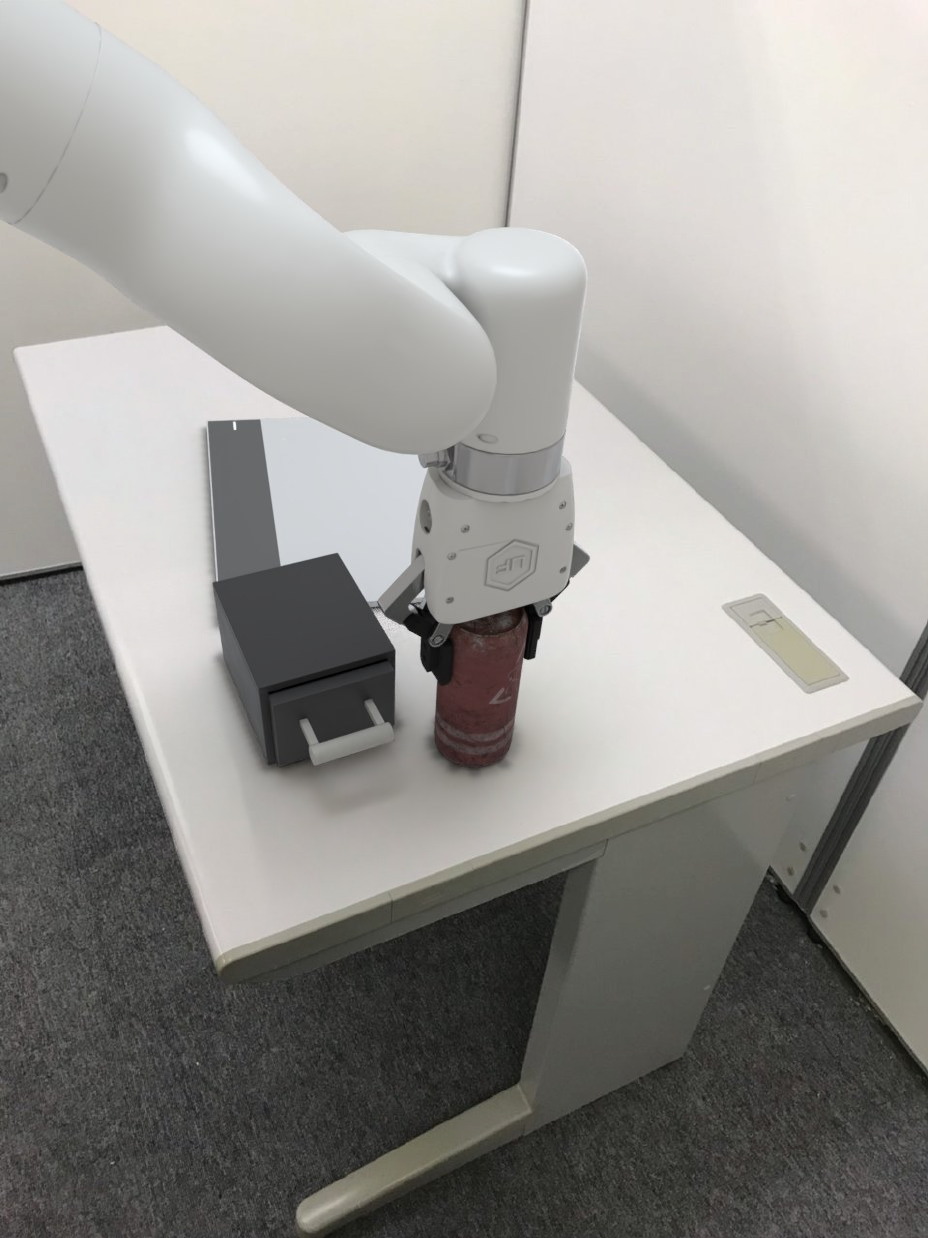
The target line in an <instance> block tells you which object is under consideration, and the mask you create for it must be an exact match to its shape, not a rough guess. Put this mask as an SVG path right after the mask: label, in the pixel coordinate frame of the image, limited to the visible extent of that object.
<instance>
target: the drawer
mask: <svg viewBox="0 0 928 1238" xmlns="http://www.w3.org/2000/svg"><path fill="white" fill-rule="evenodd" d="M268 701H269V710H270V719H271V727H272V736H273V745H274V754H275V758H276V760H277V762H276V763H277V764H278V765H277V766H278V767H283V766H287V765H290V764H292V763H296V762H299V761H302V760H305V759H308V758H310V760H311V762H312V764H313V765H314V766H319V765H322V764H325V763H328V762H331V761H335V760H338V759H341V758H343V757H347V756H350V755H353V754H356V753H359V752H363V751H366V750H369V749H372V748H375V747H378V746H381V745H384V744H388V743H391V742H394V741H395V731H394V726H395V723H394V669H393V668H392V666H391V664H390V662H389V661H384V662H381V663H377V664H375V662H373V663H369V664H366V665H362V666H359V667H355V668H352V669H348V670H345V671H341V672H338V673H334V674H331V675H327V676H324V677H320V678H317V679H313V680H310V681H306V682H303V683H299V684H296V685H292V686H289V687H285V688H282V689H278V690H275V691H271V692H269V695H268Z"/></svg>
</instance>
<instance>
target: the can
mask: <svg viewBox="0 0 928 1238" xmlns="http://www.w3.org/2000/svg"><path fill="white" fill-rule="evenodd" d="M527 629H528V618H527V613H526V612H525V610H524V606H521V607H518V608H514V609H511V610H507V611H504V612H500V613H497V614H493V615H489V616H485V617H482V618H478V619H474V620H470V621H466V622H462V623H457V624H454V626H453V628H452V630H451V631H450V633H449V635H448V638H449V639H450V641H451V642H452V644H453V658H452V671H451V682H449V684H448V685H445V686H440V684H439V683H438V681H437V680H436V690H435V691H436V693H435V707H434V708H435V710H434V726H433V727H434V728H433V736H434V737H433V738H434V742H435V744H436V747H437V749H438V751H440V752H441V753H442V755H444V756H445V758H447V759H448V760H449V761H451V762H453V763H455V764H456V765H458V766H462V767H466V768H483V767H487V766H491V765H492V764H494V763H495V762H497V761H499V760H500V759H502V758H503V757H504V756H505V755H506V754H507V753H508V752H509V750H510V748H511V744H512V741H513V736H514V728H515V721H516V714H517V707H518V700H519V693H520V685H521V680H522V679H521V677H522V671H523V664H524V650H525V643H526V636H527Z"/></svg>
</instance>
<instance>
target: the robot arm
mask: <svg viewBox="0 0 928 1238" xmlns="http://www.w3.org/2000/svg"><path fill="white" fill-rule="evenodd" d="M0 220H1V221H3V222H4V223H7V224H8V225H10V226H12V227H13V228H15V229H17V230H19V231H21V232H24V233H25V234H27V235H29V236H31V237H32V238H35V239H37V240H39V241H41V242H42V243H44V244H46V245H48V246H50V247H52V248H54V249H55V250H57V251H59V252H61V253H63V254H65V255H66V256H69V257H70V258H72V259H74V260H76V261H77V262H78V263H81V264H82V265H84V266H86V267H87V268H89V269H90V270H91V271H93V272H94V273H95V274H97V275H98V276H99V277H101V278H102V279H103V280H105V281H106V282H107V283H108V284H109V285H111V286H112V287H113V288H114V289H116V290H117V291H118V292H119V293H121V295H123V296H124V297H126V298H127V299H128V300H129V301H131V302H132V303H133V304H135V305H136V306H137V307H139V308H140V309H142V310H143V311H145V312H146V313H148V315H150V316H152V317H154V318H155V319H157V320H158V321H160V322H161V323H163V324H164V325H165V326H167V327H168V328H169V329H171V330H172V331H174V332H175V333H176V334H179V335H180V336H181V337H183V338H184V339H185V340H187V341H188V342H189V343H191V344H193V345H194V346H195V347H197V348H198V349H199V350H201V351H203V352H204V353H205V354H207V355H208V356H209V357H210V358H212V359H214V360H215V361H216V362H218V363H219V364H221V365H222V366H224V367H225V368H227V369H228V370H229V371H231V372H232V373H233V374H235V375H237V376H238V377H239V378H241V379H242V380H244V381H245V382H246V383H249V384H250V385H252V386H254V387H255V388H257V389H258V390H259V391H261V392H263V393H264V394H266V395H268V396H270V397H272V399H275V400H277V401H278V402H280V403H282V404H284V405H285V406H288V407H289V408H292V409H293V410H294V411H297V412H298V413H301V414H303V415H305V416H306V417H311V418H313V419H315V420H317V421H319V422H321V423H323V424H325V425H327V426H329V427H331V428H333V429H335V430H337V431H340V432H342V433H344V434H346V435H348V436H350V437H352V438H354V439H356V440H358V441H360V442H363V443H365V444H367V445H370V446H372V447H375V448H378V449H381V450H384V451H389V452H394V453H399V454H410V455H418V458H419V462H420V464H421V466H422V467H423V468H428V469H427V472H426V476H425V479H424V482H423V486H422V490H421V493H420V498H419V502H418V507H417V512H416V518H415V524H414V533H413V541H412V553H411V565H410V566H409V567H408V568H407V569H406V570H405V571H404V572H403V573H402V574H401V575H400V576H399V577H398V578H397V580H396V581H395V582H394V583H393V584H392V585H391V586H390V587H389V588H388V589H387V590H386V591H385V592H384V593H383V594H382V596H381V597H380V598H379V599H378V601H377V603H378V606H379V609H380V610H381V612H382V614H383V615H384V617H385V618H387V619H388V620H391V621H392V622H394V623H396V624H398V625H401V626H403V627H405V628H406V630H407V631H408V632H411V633H412V634H414V635H416V636H418V637H420V644H419V645H420V646H419V647H420V649H419V658H420V663H421V666H422V667H423V669H424V670H425V672H426V673H430V672H431V673H432V675H433V676H434V678H435V679H436V682H437V681H438V683H439V684H440V686H445V685H448V684H449V682H451V671H452V658H453V644H452V642H451V641H450V639H449V638H448V635H449V633H450V631H451V630H452V628H453V626H454V624H457V623H462V622H466V621H470V620H474V619H478V618H482V617H485V616H489V615H493V614H497V613H500V612H504V611H507V610H511V609H514V608H518V607H521V606H524V610H525V612H526V613H527V618H528V629H527V636H526V643H525V650H524V658H523V660H527V661H531V660H534V659H535V658H536V655H537V650H538V649H537V648H538V642H539V640H540V638H541V633H542V628H543V627H542V626H543V620H544V617H547V616H548V615H550V613H551V612H552V610H553V607H554V606H553V604H552V603H553V602H554V601H555V600H556V599H557V598H558V597H559V596H560V595H561V594H562V593H563V592H564V591H565V590H566V589H567V588H568V587H569V585H570V584H571V583H570V582H571V579H574V578H575V577H576V575H578V573H580V572H581V571H582V569H583V568H584V567H586V565H588V563H589V562H590V560H591V556H590V555H589V554H588V552H587V551H586V550H585V549H584V548H583V547H582V545H581V544H579V543H578V542H576V541H575V525H576V524H575V521H576V519H575V518H576V506H575V505H576V503H575V487H574V478H573V469H572V465H571V462H570V461H569V460H568V459H567V458H566V457H565V456H563V453H564V447H565V440H566V432H567V425H568V419H569V413H570V406H571V399H572V393H573V392H572V391H573V385H574V380H575V372H576V365H577V358H578V351H579V346H580V345H579V344H580V339H581V331H582V326H583V319H584V311H585V304H586V298H587V290H588V280H589V278H588V269H587V265H586V261H585V259H584V257H583V255H582V253H581V252H580V251H579V250H578V248H576V247H575V246H574V245H573V244H572V243H570V242H569V241H568V240H566V239H564V238H563V237H561V236H558V235H556V234H553V233H551V232H547V231H543V230H538V229H534V228H529V227H518V226H517V227H516V226H505V227H491V228H487V229H481V230H479V231H475V232H473V233H471V234H469V235H447V234H446V235H445V234H431V233H421V232H420V233H419V232H410V231H408V232H407V231H398V230H389V229H387V230H386V229H374V228H372V229H353V230H348V231H343V232H342V231H340V230H339V229H338V228H336V226H333V224H331V223H330V222H329V221H327V220H326V219H325V218H324V217H322V216H321V215H320V214H319V213H318V212H316V210H314V209H313V208H311V207H310V206H309V205H308V204H307V203H305V202H304V200H302V199H301V198H299V196H297V195H296V194H295V192H293V191H292V190H291V189H290V188H289V187H287V185H285V184H284V183H283V182H282V181H281V180H280V179H279V178H278V177H277V176H276V175H274V173H272V171H270V170H269V169H268V168H267V166H265V165H264V164H263V163H262V161H260V159H258V158H257V156H255V154H254V153H253V152H252V151H251V150H250V149H249V148H248V147H247V146H246V145H245V144H244V143H243V142H242V141H241V140H240V138H239V137H238V135H236V134H235V133H234V132H233V131H232V130H231V128H230V127H229V126H228V125H227V124H226V123H225V122H224V121H223V120H222V119H221V118H220V117H219V115H217V114H216V113H215V112H214V111H213V110H212V109H211V108H210V107H209V106H208V105H207V104H206V103H205V102H203V100H201V99H200V98H199V97H198V96H196V94H195V93H193V92H192V91H191V90H190V89H189V88H188V87H186V85H184V84H183V83H182V82H181V81H179V80H178V79H177V78H176V77H174V76H173V75H172V74H171V73H170V72H169V71H167V70H166V69H164V68H163V67H162V66H161V65H159V64H157V62H155V61H153V60H152V59H150V58H149V57H148V56H146V55H144V54H143V53H141V52H140V51H138V50H137V49H135V48H134V47H132V46H131V45H129V44H128V43H127V42H125V41H124V40H122V39H121V38H120V37H118V36H116V35H115V34H113V33H112V32H111V31H109V30H108V29H106V28H104V27H103V26H102V25H100V24H99V23H97V22H95V21H93V20H92V19H90V18H89V17H88V16H86V15H85V14H83V13H82V12H80V11H79V10H77V8H75V7H73V6H72V5H70V4H69V3H68V2H66V1H65V0H0ZM423 589H425V595H424V597H423V599H422V601H421V602H419V605H418V606H417V605H416V604H414V603H411V602H412V601H413V600H414V599H415V597H416V596H417V595H418V594H419V593H420V592H421V591H422V590H423Z"/></svg>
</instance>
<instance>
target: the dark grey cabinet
mask: <svg viewBox="0 0 928 1238" xmlns="http://www.w3.org/2000/svg"><path fill="white" fill-rule="evenodd" d="M211 584H212V591H213V597H214V603H215V604H214V605H215V609H216V610H215V611H216V615H217V617H216V618H217V624H218V631H219V636H220V637H219V638H220V643H221V649H222V655H223V661H224V662H225V665H226V667H227V670H228V673H229V675H230V677H231V679H232V682H233V685H234V687H235V690H236V691H237V695H238V696H239V699H240V701H241V704H242V706H243V708H244V711H245V714H246V716H247V719H248V721H249V723H250V725H251V728H252V730H253V734H254V735H255V738H256V740H257V742H258V745H259V747H260V750H261V752H262V754H263V756H264V759H265V762H266V764H267V765H271V764H274V763H278V762H277V760H276V758H275V754H274V745H273V736H272V727H271V719H270V710H269V701H268V695H269V692H271V691H275V690H278V689H282V688H285V687H289V686H292V685H296V684H299V683H303V682H306V681H310V680H313V679H317V678H320V677H324V676H327V675H331V674H334V673H338V672H341V671H345V670H348V669H352V668H355V667H359V666H362V665H366V664H369V663H373V662H375V664H377V663H381V662H384V661H389V662H390V664H391V666H392V668H393V669H394V724H395V719H396V718H395V717H396V716H395V715H396V714H395V713H396V710H395V709H396V660H397V659H396V658H397V657H396V656H397V655H396V648H395V646H394V644H393V643H392V641H391V639H390V638H389V636H388V634H387V633H386V631H385V629H384V627H383V626H382V624H381V623H380V621H379V620H378V618H377V616H376V615H375V614H376V613H374V611H373V609H372V607H370V606H369V604H368V603H367V601H366V599H365V597H364V596H363V594H362V592H361V591H360V589H359V587H358V586H357V584H356V582H355V581H354V579H353V577H352V576H351V574H350V572H349V571H348V569H347V567H346V566H345V564H344V562H343V561H342V559H341V557H340V555H339V554H338V553H334V554H329V555H325V556H321V557H317V558H313V559H308V560H304V561H300V562H296V563H292V564H287V565H283V566H279V567H275V568H271V569H267V570H262V571H258V572H254V573H250V574H246V575H241V576H237V577H233V578H229V579H225V580H220V581H213V582H212V583H211Z"/></svg>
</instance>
